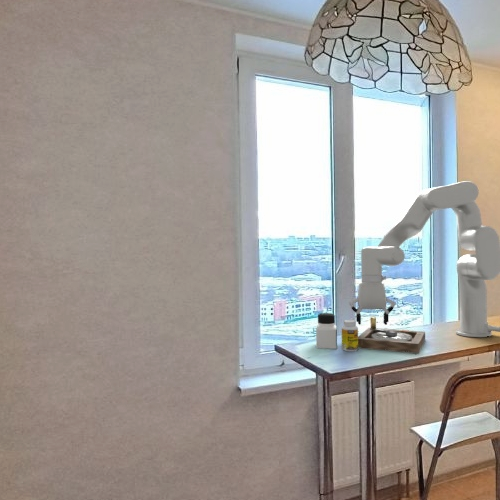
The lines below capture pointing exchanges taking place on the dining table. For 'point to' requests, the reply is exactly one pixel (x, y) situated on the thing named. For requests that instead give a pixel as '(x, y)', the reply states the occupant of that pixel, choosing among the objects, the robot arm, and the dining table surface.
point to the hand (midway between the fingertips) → (372, 324)
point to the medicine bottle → (326, 331)
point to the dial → (388, 333)
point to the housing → (392, 341)
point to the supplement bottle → (349, 336)
